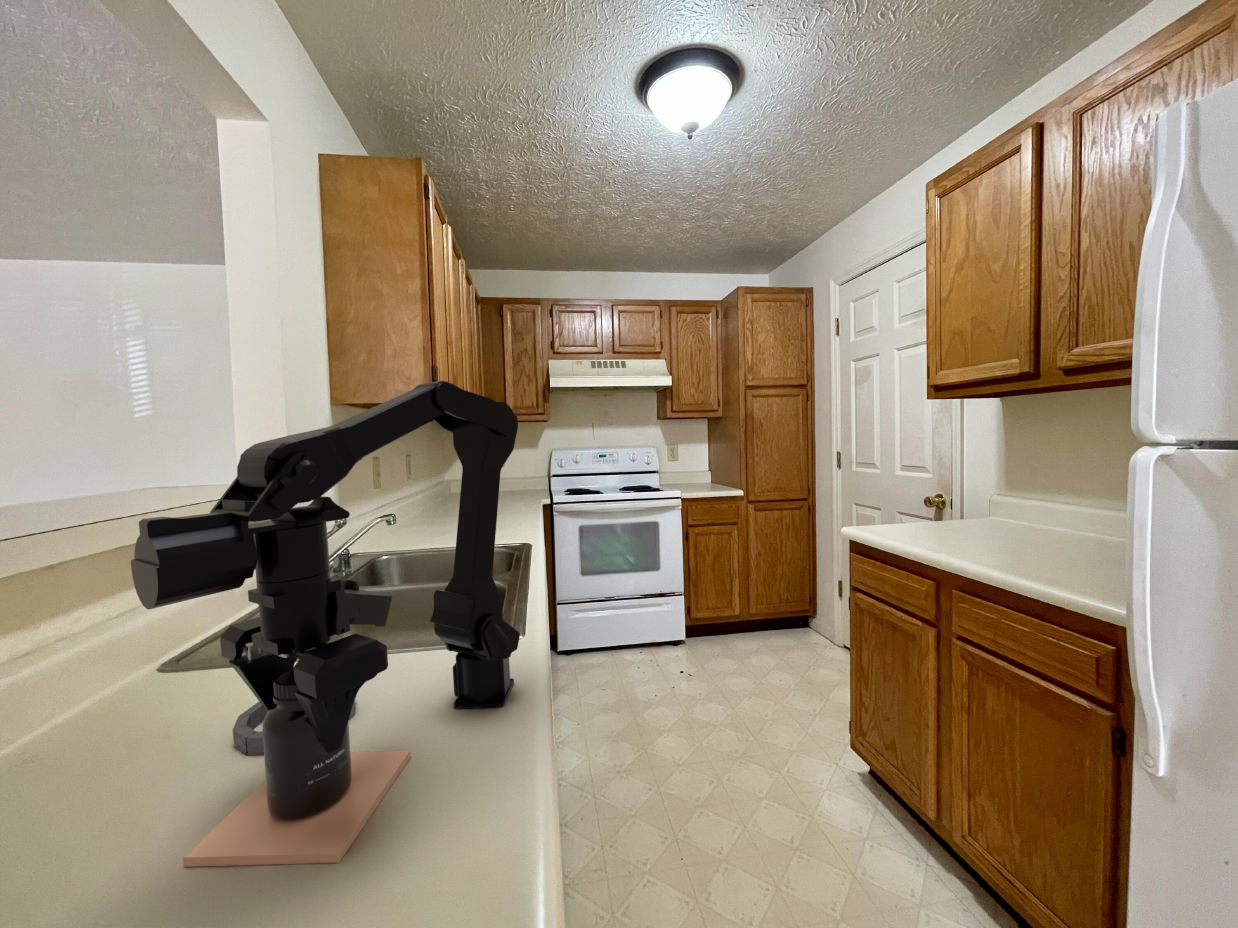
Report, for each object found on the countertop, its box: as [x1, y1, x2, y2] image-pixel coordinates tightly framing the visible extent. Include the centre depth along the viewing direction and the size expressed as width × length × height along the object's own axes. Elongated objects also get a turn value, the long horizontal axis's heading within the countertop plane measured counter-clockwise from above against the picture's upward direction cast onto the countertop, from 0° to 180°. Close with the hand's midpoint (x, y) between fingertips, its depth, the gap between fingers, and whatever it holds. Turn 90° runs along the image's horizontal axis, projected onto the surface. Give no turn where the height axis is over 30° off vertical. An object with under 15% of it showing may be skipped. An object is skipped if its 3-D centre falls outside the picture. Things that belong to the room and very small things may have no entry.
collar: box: [232, 700, 356, 756], centre depth 60 cm, size 12×12×2 cm
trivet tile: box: [182, 750, 411, 868], centre depth 46 cm, size 13×13×1 cm
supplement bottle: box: [262, 668, 352, 821], centre depth 46 cm, size 7×7×12 cm
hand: (307, 735), depth 46 cm, fingers open, 9 cm apart
